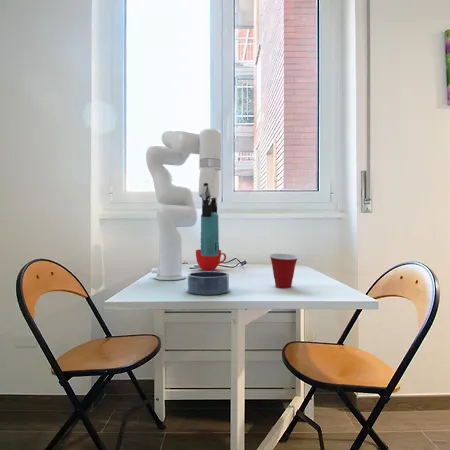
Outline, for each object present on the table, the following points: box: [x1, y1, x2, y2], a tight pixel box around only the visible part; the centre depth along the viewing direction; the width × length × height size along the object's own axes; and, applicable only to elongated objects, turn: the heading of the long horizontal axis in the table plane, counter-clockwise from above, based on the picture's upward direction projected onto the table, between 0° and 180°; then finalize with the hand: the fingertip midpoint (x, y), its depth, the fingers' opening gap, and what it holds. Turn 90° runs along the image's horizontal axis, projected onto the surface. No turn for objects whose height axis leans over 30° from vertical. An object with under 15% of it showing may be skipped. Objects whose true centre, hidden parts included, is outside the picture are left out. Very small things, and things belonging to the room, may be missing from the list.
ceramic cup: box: [195, 249, 227, 271], centre depth 178 cm, size 13×17×10 cm
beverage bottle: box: [199, 203, 220, 256], centre depth 123 cm, size 6×7×20 cm
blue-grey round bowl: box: [187, 271, 230, 296], centre depth 123 cm, size 14×14×6 cm
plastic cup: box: [268, 253, 299, 289], centre depth 131 cm, size 11×11×12 cm
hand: (209, 216), depth 123 cm, fingers closed on beverage bottle, 6 cm apart
